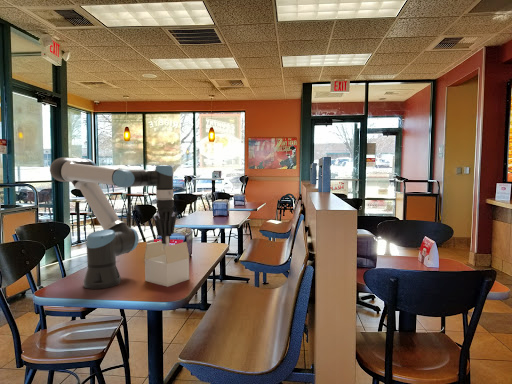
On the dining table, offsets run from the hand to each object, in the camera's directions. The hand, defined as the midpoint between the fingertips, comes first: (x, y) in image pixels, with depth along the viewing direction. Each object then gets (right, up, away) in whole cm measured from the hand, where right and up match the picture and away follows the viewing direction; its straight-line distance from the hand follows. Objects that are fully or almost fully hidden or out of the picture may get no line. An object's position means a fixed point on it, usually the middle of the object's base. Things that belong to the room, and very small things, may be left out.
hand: (166, 250), depth 163 cm
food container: (-18, -12, +44) cm, 49 cm away
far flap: (-5, 0, +4) cm, 6 cm away
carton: (0, -14, 0) cm, 14 cm away
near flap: (+6, 0, -4) cm, 7 cm away
